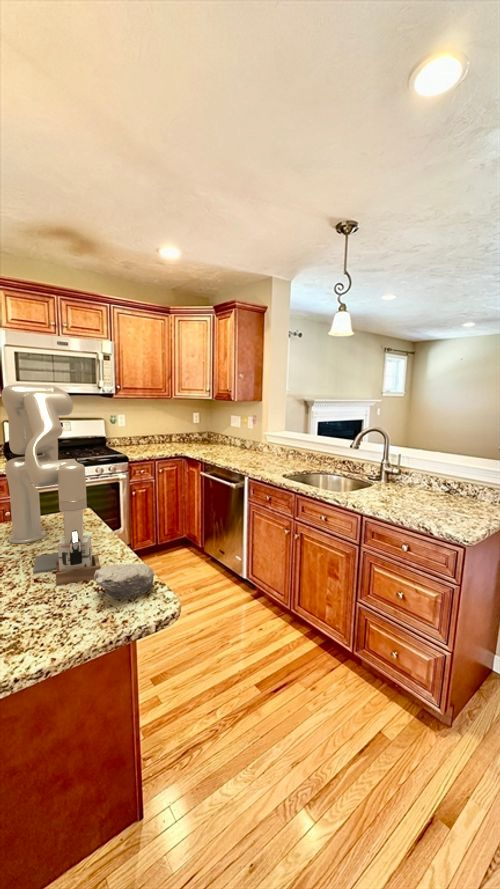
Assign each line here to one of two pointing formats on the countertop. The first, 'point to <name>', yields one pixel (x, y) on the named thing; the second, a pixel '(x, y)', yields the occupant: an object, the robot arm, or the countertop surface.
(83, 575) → the cradle
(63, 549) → the ink box
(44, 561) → the mat
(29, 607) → the countertop surface
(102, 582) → the rock
